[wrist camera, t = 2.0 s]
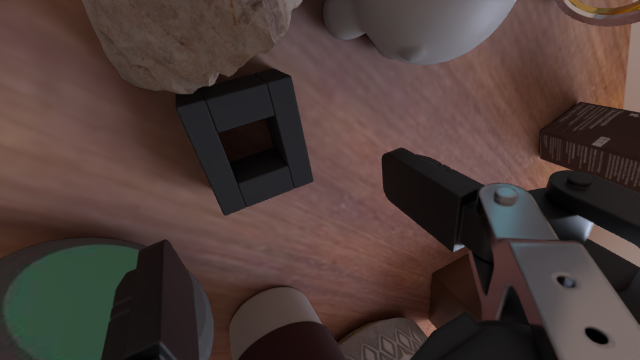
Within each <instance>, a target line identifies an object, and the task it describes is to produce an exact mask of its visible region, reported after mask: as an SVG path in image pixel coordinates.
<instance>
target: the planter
mask: <svg viewBox="0 0 640 360" xmlns="http://www.w3.org/2000/svg"><path fill="white" fill-rule="evenodd" d="M427 338H428V337H427V336H426V335H425V334H424V332H423V331H422V330H421V329H420V327H419V326H418V325H417V324H416V323H415V322H414V321H412V320H410V319H407V318H392V319H385V320H378V321H374V322H371V323H368V324H366V325H364V326H362V327H360V328H358V329H356V330H354V331H353V332H351V333H349V334H348V335H347V336H345V337H344V338H342V339H341V340H340V341H339V342H338V343H337V344H338V346H339V347H340V349H341V351H342V352H343V354H344V356H345V357H346V359H347V360H410V359H411V358H412V357H413V356H414V354H415V353H416V352H417V351H418V349H419V348H420V347H421V346H422V345H423V343H424V342H425V341H426V340H427Z"/></svg>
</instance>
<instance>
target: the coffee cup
mask: <svg viewBox="0 0 640 360" xmlns="http://www.w3.org/2000/svg"><path fill="white" fill-rule="evenodd" d="M229 337H230V347H231V357H232V360H347V359H346V357H345V356H344V354H343V352H342V351H341V349H340V347H339V346H338V344H337V342H336V341H335V339H334V337H333V336H332V334H331V333H330V331H329V330H328V328H327V327H325V326H324V325H323V324H322V323H321V321H320V319H319V318H318V316H317V314H316V312H315V311H314V309H313V307H312V306H311V304H310V302H309V300H308V299H307V297H306V296H305V295H304V294H303V293H302V292H301V291H299V290H297V289H294V288H290V287H278V288H272V289H268V290H266V291H263V292H261V293H259V294H257V295H255V296H253V297H252V298H250V299H249V300H248V301H246V302H245V303H244V304H243V305H242V306H241V307H240V308H239V309H238V310H237V312H236V313H235V314H234V316H233V318H232V321H231V324H230V329H229Z"/></svg>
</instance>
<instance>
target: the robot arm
mask: <svg viewBox="0 0 640 360" xmlns="http://www.w3.org/2000/svg"><path fill="white" fill-rule="evenodd" d="M382 176H383V189H384V193H385V195H386V197H387V198H388V200H389V201H390V202H391V203H393V204H394V205H395V206H396V207H398V208H399V209H400V210H401V211H402V212H404V213H405V214H406V215H407V216H409V217H410V218H411V219H412V220H414V221H415V222H416V223H417V224H418V225H420V226H421V227H422V228H423V229H425V230H426V231H427V232H428V233H430V234H431V235H432V236H433V237H434V238H436V239H437V240H438V241H439V242H441V243H442V244H443V245H444V246H446V247H447V248H448V249H449V250H450V251H452V252H453V253H454V252H455V251H457V250H459V249H461V248H463V247H465V246H466V247H467V248H468V249H469V260H470V264H471V267H472V271H473V275H474V279H475V283H476V286H477V290H478V294H479V298H480V302H481V308H482V321H476V322H475V321H474V320H473V319H472V318H471V317H470V316H469V315H468V314H467V313H466V312H463V313H462V314H460V315H459V316H457V317H456V318H454V319H452V320H451V321H449V322H448V323H446V324H444V325H443V326H441V327H440V328H438V329H437V330H435V331H433V332H432V333H431V335H430V336H429V337H428V338H427V340H426V341H425V342H424V343H423V345H422V346H421V347H420V348H419V349H418V351H417V352H416V353H415V354H414V356H413V357H412V358H411V359H410V360H640V267H638V266H636V265H634V264H633V263H631V262H629V261H627V260H625V259H624V258H622V257H620V256H618V255H616V254H615V253H613V252H611V251H609V250H607V249H606V248H604V247H602V246H600V245H598V244H596V243H595V242H593V241H591V240H589V239H588V236H589V234H590V231H591V229H592V227H593V225H594V224H596V225H598V226H600V227H602V228H604V229H606V230H608V231H610V232H612V233H614V234H616V235H618V236H620V237H622V238H624V239H625V240H627V241H629V242H631V243H633V244H635V245H636V246H638V247H639V248H640V193H639V192H637V191H634V190H631V189H629V188H626V187H624V186H621V185H619V184H616V183H613V182H611V181H608V180H606V179H603V178H601V177H598V176H595V175H593V174H590V173H586V172H581V171H572V170H565V171H558V172H555V173H553V174H552V175H551V176H550V178H549V181H548V184H547V187H546V188H540V189H535V190H529V191H526V190H525V189H523V188H521V187H518V186H515V185H512V184H507V183H492V184H488V185H483V184H481V183H479V182H477V181H475V180H473V179H471V178H469V177H467V176H465V175H463V174H461V173H459V172H457V171H456V170H454V169H452V170H451V168H450V167H448V166H446V165H442V163H440V162H438V161H436V160H434V159H432V158H430V157H426V156H421V155H416V154H414V153H412V152H410V151H408V150H406V149H405V148H398V149H396V150H393V151H390V152H388V153H385V154H384V155H383V156H382ZM110 319H111V321H109V324H108V328H107V333H106V338H105V343H104V347H103V352H102V357H101V360H200V358H199V346H198V334H197V322H196V310H195V298H194V288H193V283H192V280H191V277H190V275H189V273H188V271H187V269H186V268H185V266H184V265H183V263H182V261H181V260H180V258H179V257H178V255H177V253H176V252H175V250H174V249H173V247H172V245H171V244H170V242H169V241H168V240H166V239H165V240H162V241H160V242H157V243H155V244H152V245H150V246H147V247H145V248H142V249H140V250H139V252H138V259H137V266H136V269H134V270H131V271H129V272H126V274H125V275H124V277H123V278H122V280H121V282H120V283H119V285H118V286H117V288H116V290H115V295H114V300H113V307H112V309H111V314H110Z"/></svg>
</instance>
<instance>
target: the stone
mask: <svg viewBox="0 0 640 360" xmlns="http://www.w3.org/2000/svg"><path fill="white" fill-rule="evenodd" d="M301 2H302V0H82V3H83V5H84V7H85V9H86V12H87V15H88V17H89V20H90V22H91V24H92V27H93V29H94V31H95V33H96V35H97V37H98V39H99V40H100V42H101V45H102V48H103V51H104V53H105V55H106V56H107V58H108V60H109V61H110V63H111V64H112V65H113V66H114V67H115V68H116V69H117V71H118V73H119V75H120V76H121V78H122V79H124V80H125V81H127V82H129V83H130V84H132V85H133V86H135V87H138V88H144V89H149V90H152V91H162V90H167V91H170V92H173V93H177V94H193V93H194V91H196V90H197V89H198V88H200V87H203V86H211V85H213V84H214V83H215V82H216V80H217V78H218V75H219V73H220V74H223V75H225V76H228V77H230V76H231V75H233V74H234V73H235V72H236V71H237V70H238V68H240V67H243V66H244V65H245V63H246V62H247V61H248V60H250V59H251V58H252V57H253V56H255V55H257V54H259V53H266V52H268V51H269V50H270V49H271V48H272V47H273V46H275V45H276V44H277V43H278V42H279V41H280V40H281V39H282V38H283V37H284V36H285V35H286V33H287V30H288V28H289V25H290V19H291V12H292V11H293V10H294V9H296V8H297V7H298V6H299V5H300V4H301Z"/></svg>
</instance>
